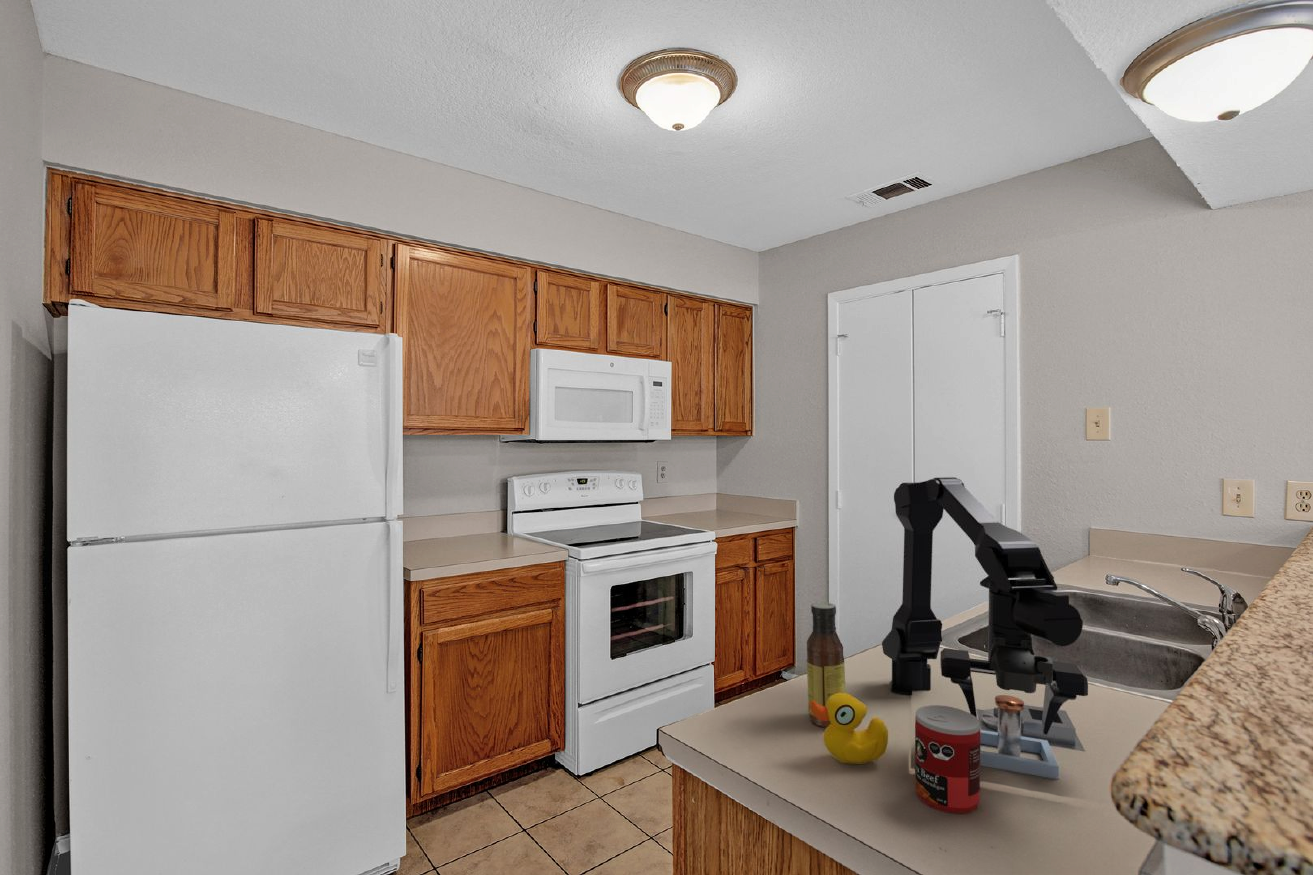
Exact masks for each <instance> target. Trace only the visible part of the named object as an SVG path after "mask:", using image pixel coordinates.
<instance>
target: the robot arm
mask: <svg viewBox="0 0 1313 875" xmlns="http://www.w3.org/2000/svg"><path fill="white" fill-rule="evenodd" d="M893 502H894V506H895V515H896V517H897V518H898V520H899V522H900V523H901V525H902V527H903V532H904V533H903V534H904V536H903V566H902V567H903V568H902V569H903V570H902V571H903V572H902V600H901V601H902V603H901V605H900V606H899V608H898V609H897V611H895V613H894V615H893V617H892V622H891V624H892V625H891V630H890V631H889V632H888V634H887V635H886V636H885V638H883V640H882V641H881V648H882V653H883V654H884V655H885V656H886V657H888V658H889V659H891V682H890V692H891V693H897V694H898V693H899V694H905V695H913V692H920V691H921V692H922V691H926V692H927V691H931V688H932V684H931V682H932V680H931V679H932V678H931V677H932V668H931V667H932V666H931V664H930V663H928V660H937V658H938V656H939V650H940V647H941V644H942V643H941V642H943V636H942V629H943V623H942V621H941V619H938V617H936V614H935V613H934V611H933V610H932V603H931V602H932V575H933V574H932V571H933V543H934V542H933V539H934V538H933V535H934V534H933V533H934V530H935V529H936V528H937V526H938V524H939V523H940V522H941V520H942V519H943V517H944V511H945V512H946V513H947V514H948V515H949V516H950V518H951V519H952V520H953V521H954V522H955V523H956V525H957V526H958V527H959V528H960V529H961V530H962V532H964V533H965V535H966V536H967V537H968V538H969V539H970V540H971V542H972V543H973V544H974V556H975V558H976V560H977V562H978V563H979V565H980V566H981V569H982V570H984V572H985V573H986V575H987V576H986V577H984V578H982V579H981V580H980V582H979V585H980V586H981V587H984V588H986V589H988V630H987V631H988V634H987V635H988V640H987V642H988V645H987V647H988V649H987V652H988V653H987V656H988V657H987V659H985V660H984V659H976V658H970V654H969V651H968V650H963V649H955V648H948V647H947V648H946V647H945V648H943V649H942V650H941V651H940V663H939V664H940V671H941V673H940V674H941V676H942V677H943V678H946V679H947V678H948V679H950V682H951V683H953V684H955V685H958V686H959V687H960V689H961V691H962V693H963V696H964V697H965V700H966V703H967V706H968V710H969V713H970V714H972V715H974V716H975V717H976V718H977V719H978V713H977V708H976V707H977V706H976V701H975V700H976V699H975V693H974V692H975V691H974V682H973V679H972V678H973V677H972V673H978V674H979V673H980V674H986V675H993V676H995V679H996V681H995V682H996V685H997V687H998V688H1000V689H1001V690H1005V691H1011V690H1012V691H1013V690H1014V691H1019V692H1024V693H1025V694H1034V693H1036V691H1037V685H1043V686H1045V687H1044V697H1043V716H1042V727H1043V733H1044V734H1045V735H1047V734H1048V731H1049V729H1050V727H1051V725H1052V723H1053V720H1054V718H1055V716H1056V714H1057V712H1058V710H1061V707H1062V705H1064V703H1066V702H1068V701H1069V700H1071V701H1076V699H1077V697H1078V696H1079V697H1088V695H1089V682H1088V677H1087V676H1086V674H1085V673H1084V671H1083V670H1082V669H1081V668H1080V667H1079V666H1078V665H1077V664H1076V663H1074V662H1073V663H1071V662H1065V661H1064V662H1062V661H1054V660H1052V657H1050V656H1042V655H1036V654H1035V651H1034V650H1033V636H1034V637H1036V638H1039V639H1041V640H1043V641H1045V642H1049V643H1051V644H1053V645H1055V646H1058V647H1068V646H1070V645H1072V644H1073V643H1075V642H1076V641H1077V640H1078V639H1079V637H1080V635H1081V633H1082V631H1083V625H1084V621H1083V619H1082V617H1081V614H1080V612H1079V610H1078V609H1077V608H1076V607H1075V606H1074V605H1072V604H1070V596H1069V595H1068V594H1067V593H1064V592H1057V590H1058V586H1057V584H1056V581H1055V577H1054V575H1053V574H1052V572H1051V570H1050V569H1049V567H1048V565H1047V562H1046V560H1045V559H1044V555H1043V554H1042V552H1041V549H1040V548H1039V546H1038V545H1037V543H1036V542H1035V541H1034V540H1032V539H1031V538H1029V537H1028V536H1026V535H1024V534H1023V533H1022V532H1020V531H1018V530H1016V529H1013V528H1010V527H1008V526H1005V525H1004V524H1002V523H1001V522H1000V521H999V520H997V518H995V517H994V515H993V514H992V513H991V512H990V511H989V510H988V509H986V508H985V506H984V505H983V504H982V503H981V502H980V501H979V500H978V499H977V498H976V497H975V496H974V495H973V494H972V493H971V492H970V491H969V490H968V489H967V488H966V487H965V483H964V481H963V480H962V479H960V478H957V477H956V476H955V477H954V476H950V477H948V476H947V477H945V476H943V477H933V478H931V479H928V480H925V481H919V482H902V483H901V484H899V485H898V487H897V488H896V489H895V491H894V494H893Z"/></svg>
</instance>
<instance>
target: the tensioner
mask: <svg viewBox="0 0 1313 875" xmlns="http://www.w3.org/2000/svg"><path fill="white" fill-rule="evenodd" d="M976 713H977V718H978V720H979V722H980V730H985V731H991V732H998V707H994V708H988V709H980V708H979V709H978V708H976ZM1068 714H1069V713H1067V711H1066V710H1065V709H1059V710H1058V712H1057V714H1056V716H1055V718H1054V720H1053V723H1052V725H1051V727H1050V729H1049V731H1048V734H1047V735H1045V734H1044V733H1043V727H1042V716H1043V707H1042V706H1035V705H1029V704H1024V710H1022V711H1021V736H1023V737H1029V738H1035V739H1041V740H1047V741H1048V743H1049V746H1050V747H1055V748H1056V747H1057V748H1062V749H1069V750H1074V751H1082V752H1086V749H1085V748H1084V746H1083V744H1082V742H1081V740H1080V739H1079V736H1078V734H1077V733H1076V728H1075V726H1074V724H1073V722H1072V719H1071V718H1070V717H1069V715H1068Z"/></svg>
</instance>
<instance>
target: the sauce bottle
mask: <svg viewBox="0 0 1313 875" xmlns="http://www.w3.org/2000/svg"><path fill="white" fill-rule="evenodd" d="M810 605H811V608H810V611H811V614H812V632H811V633H810V635H809V636H808V638H807V640H806V673H807V674H806V675H807V676H806V677H807V678H806V679H807V706H808V710H807V711H808V714H809V720H810V721H811V722H812V724H813V725H816V726H819V727H822V728H825V729H826V728H827V727H828V726H829V725H830V724H831V722H830V720H829V721H821V720H819V719H818V718H816V717H815V716H814V715H813V713H812V711H811V708H810V702H811V701H812V700H814V701H815V702H816V703H817V704H818V705H821V706H825V707H826V702H827V700H828V698H829V697H830V696H832V695H834V694H836V693H846V673H845V672H846V668H845V657H844V646H843V643H842V641H841V640H840V637H839V635H838V633H837V631H836V630H837V628H836V614H837V609H836V607H837V606H836V605H835V604H834V603H831V602H826V601H820V602H814V603H811V604H810Z"/></svg>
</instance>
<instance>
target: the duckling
mask: <svg viewBox="0 0 1313 875" xmlns="http://www.w3.org/2000/svg"><path fill="white" fill-rule="evenodd" d="M810 708H811V711H812V713H813V715H814V716H815V717H816V718H818V719H819V720H821V721H829V720H830V722H831V724H830V725H829V726H828V727H827V728H825V730H824V732H823V735H822V736H823V737H822V739H823V743H824V747H825V748H826V749H827V751H828V752H829V754H831V756H832V757H833V758H835V759H836V760H837V761H838V762H840V763H843V764H847V765H849V764H850V765H851V764H852V765H854V764H855V765H856V764H857V765H858V764H861V765H862V764H867V763H871V762H873V761H875V760H879V758H881V757H882V756H883V755H884V754H885V753H886V751H887V748H888V742H889V730H888V728H887V726H886V724H885V722H884V721H883V720H882V719H881V718H878V717H873V718H872V719H871V720H870V721H869V723H868V725H867V728H865V729H863V730H859V731H856V730H855V729H857V728H859V726H860V725H861V724H862V722H863V720H864V718H865V717H866V715H867V706H866V705H865V703H863V702H862V701H860V700H858V699H857V698H856V697H854V696H853V695H852V694H849V693H847V692H845V693H836V694H834V695H832V696H830V697H829V698H828V700H827V702H826V707H825V706H821V705H818V704H817V703H816V702H815V701H814V700H812V701H811V702H810Z"/></svg>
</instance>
